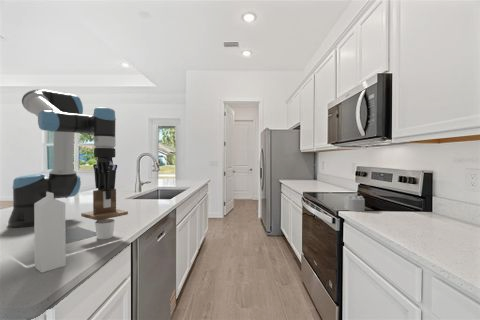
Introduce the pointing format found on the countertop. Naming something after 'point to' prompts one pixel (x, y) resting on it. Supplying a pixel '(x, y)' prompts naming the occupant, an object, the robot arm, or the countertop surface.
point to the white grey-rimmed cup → (104, 228)
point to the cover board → (106, 215)
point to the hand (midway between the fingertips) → (105, 206)
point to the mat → (78, 234)
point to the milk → (49, 233)
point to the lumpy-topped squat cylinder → (355, 203)
